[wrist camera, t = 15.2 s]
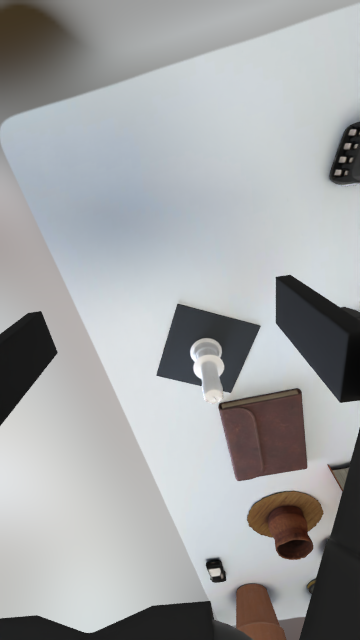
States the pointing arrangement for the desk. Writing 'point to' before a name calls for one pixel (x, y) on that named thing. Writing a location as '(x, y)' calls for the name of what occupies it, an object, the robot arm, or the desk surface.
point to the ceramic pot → (287, 522)
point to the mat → (197, 326)
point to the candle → (208, 368)
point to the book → (340, 476)
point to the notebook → (265, 434)
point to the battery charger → (348, 158)
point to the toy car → (216, 571)
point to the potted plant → (257, 614)
